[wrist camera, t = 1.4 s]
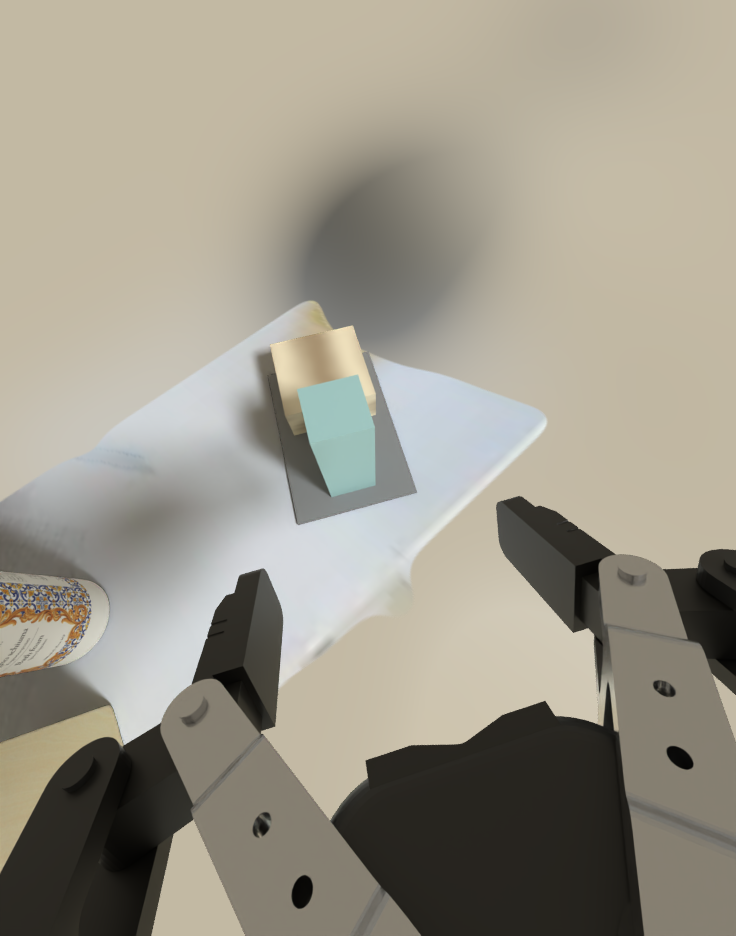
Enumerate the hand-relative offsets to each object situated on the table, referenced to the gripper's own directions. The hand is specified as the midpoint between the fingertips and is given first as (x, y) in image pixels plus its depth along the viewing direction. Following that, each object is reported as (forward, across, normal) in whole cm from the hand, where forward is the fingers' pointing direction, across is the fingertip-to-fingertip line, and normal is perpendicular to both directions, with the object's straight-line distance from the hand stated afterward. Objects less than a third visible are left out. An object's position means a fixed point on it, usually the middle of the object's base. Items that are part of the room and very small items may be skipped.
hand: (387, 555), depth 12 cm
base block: (+30, 0, -1) cm, 30 cm away
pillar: (+23, 0, +6) cm, 24 cm away
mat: (+27, 0, +3) cm, 27 cm away
